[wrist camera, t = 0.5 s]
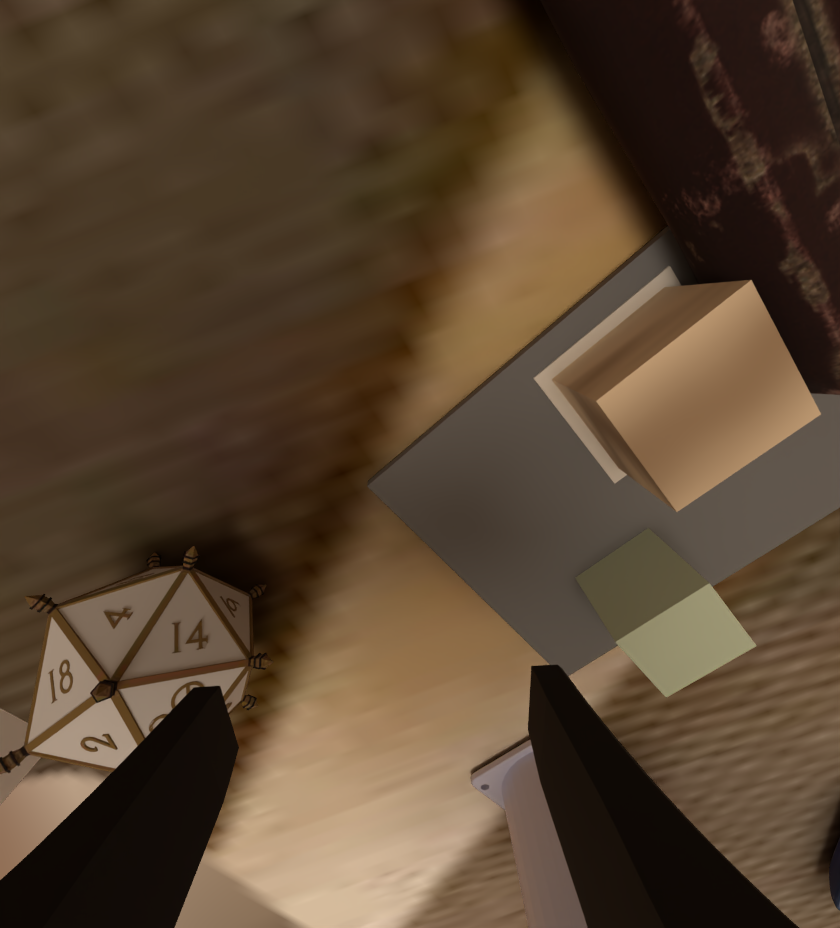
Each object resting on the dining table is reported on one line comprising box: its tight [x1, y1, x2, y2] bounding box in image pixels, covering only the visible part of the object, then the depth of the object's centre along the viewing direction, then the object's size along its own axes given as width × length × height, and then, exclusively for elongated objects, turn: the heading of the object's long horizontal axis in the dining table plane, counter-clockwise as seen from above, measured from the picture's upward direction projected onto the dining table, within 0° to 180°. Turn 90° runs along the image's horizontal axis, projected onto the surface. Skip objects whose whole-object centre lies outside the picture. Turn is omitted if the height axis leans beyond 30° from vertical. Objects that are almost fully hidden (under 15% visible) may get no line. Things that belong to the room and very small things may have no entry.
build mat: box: [367, 226, 840, 676], centre depth 18 cm, size 15×17×1 cm
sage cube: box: [575, 528, 756, 698], centre depth 18 cm, size 4×4×4 cm
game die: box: [0, 546, 273, 774], centre depth 16 cm, size 9×8×10 cm
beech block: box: [552, 280, 821, 512], centre depth 14 cm, size 5×5×4 cm
